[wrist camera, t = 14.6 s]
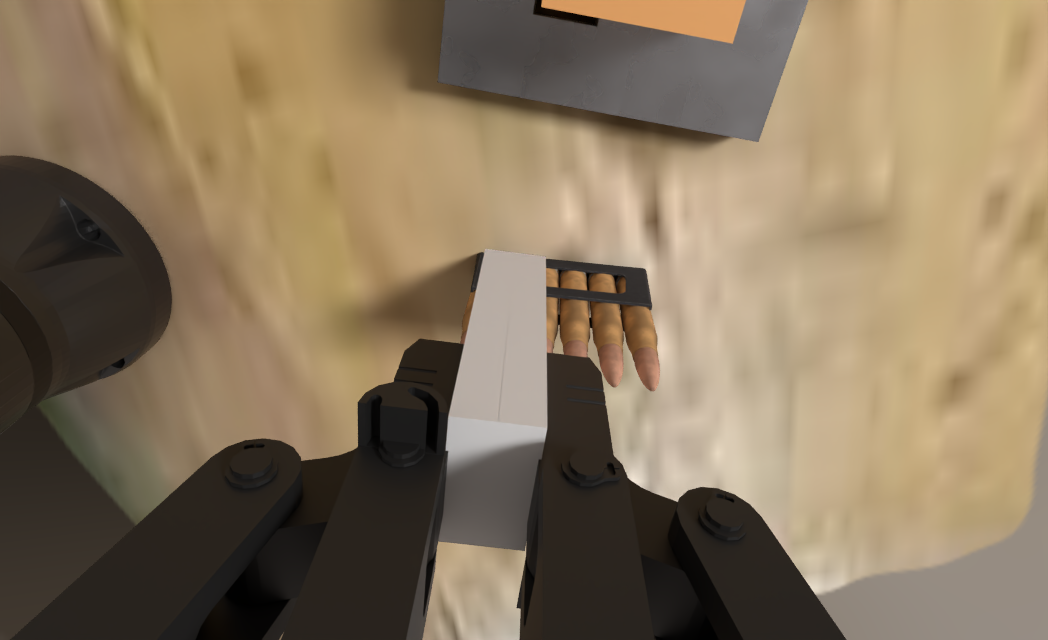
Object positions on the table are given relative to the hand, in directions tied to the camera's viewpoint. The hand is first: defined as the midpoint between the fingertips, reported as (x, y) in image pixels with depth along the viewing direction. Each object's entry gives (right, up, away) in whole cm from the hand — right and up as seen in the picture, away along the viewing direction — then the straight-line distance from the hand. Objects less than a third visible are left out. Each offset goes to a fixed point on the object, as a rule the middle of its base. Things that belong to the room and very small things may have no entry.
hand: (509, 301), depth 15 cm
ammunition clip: (+3, +3, +24) cm, 24 cm away
